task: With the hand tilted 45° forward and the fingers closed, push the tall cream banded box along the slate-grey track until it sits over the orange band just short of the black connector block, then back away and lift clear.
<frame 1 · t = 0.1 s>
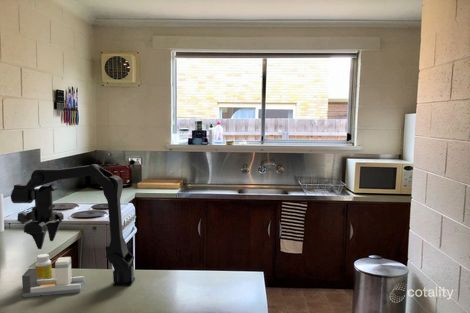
hand: (45, 244, 141), 15 cm above the countertop, tool pointing down, fingers open, 9 cm apart
cream banded box: (63, 271, 136), point 6 cm above the countertop, slide at 0.0 cm
sleeve track: (64, 289, 137), on the countertop
supplement bottle: (44, 281, 145), on the countertop
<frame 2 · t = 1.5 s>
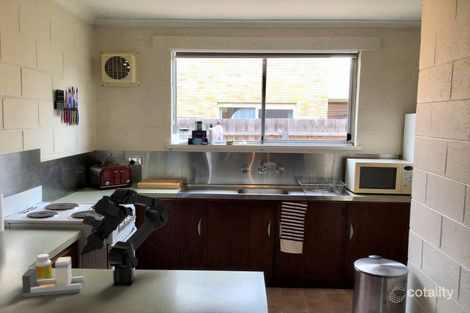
hand: (82, 251, 137), 13 cm above the countertop, tool tilted 45°, fingers open, 6 cm apart
nothing on the countertop moved.
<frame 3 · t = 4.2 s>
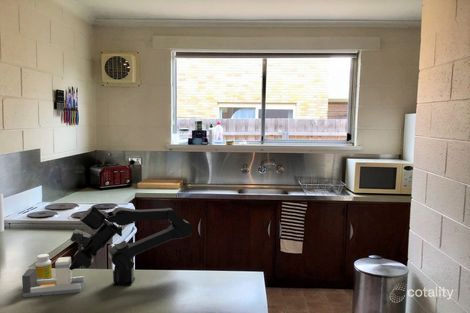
hand: (70, 269, 137), 7 cm above the countertop, tool tilted 45°, fingers closed, pressing on cream banded box
cream banded box: (63, 271, 136), point 6 cm above the countertop, slide at 0.0 cm, touching gripper
everything else where it was.
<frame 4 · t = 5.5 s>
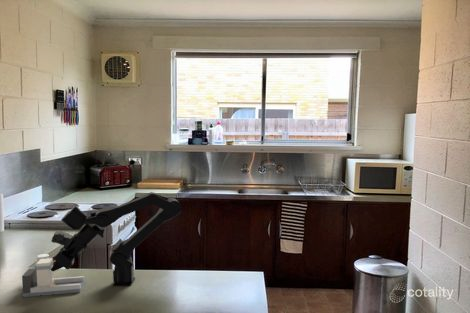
hand: (52, 270, 136), 7 cm above the countertop, tool tilted 45°, fingers closed, pressing on cream banded box
cream banded box: (45, 273, 135), point 6 cm above the countertop, slide at 6.1 cm, touching gripper
everything else where it was.
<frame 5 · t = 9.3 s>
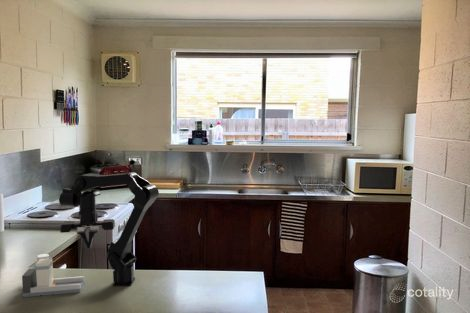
hand: (89, 247, 145), 12 cm above the countertop, tool pointing down, fingers closed
cream banded box: (44, 273, 135), point 6 cm above the countertop, slide at 6.3 cm
everything else where it was.
at the end: cream banded box slide at 6.3 cm; cream banded box touching nothing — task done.
